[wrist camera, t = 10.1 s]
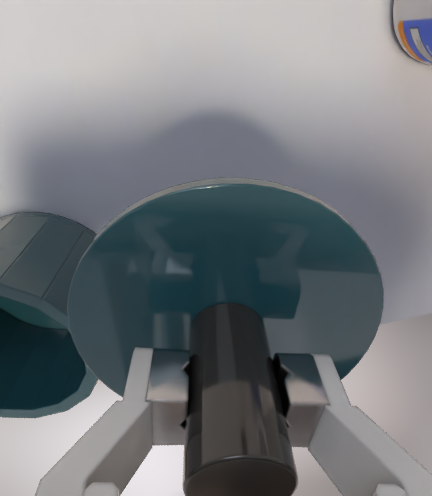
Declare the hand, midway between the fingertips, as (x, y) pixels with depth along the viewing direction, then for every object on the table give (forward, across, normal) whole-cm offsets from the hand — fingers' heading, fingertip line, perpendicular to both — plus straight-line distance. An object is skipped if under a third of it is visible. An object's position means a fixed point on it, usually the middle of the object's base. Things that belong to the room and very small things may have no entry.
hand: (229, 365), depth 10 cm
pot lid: (+2, 0, 0) cm, 2 cm away
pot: (+11, +10, +6) cm, 16 cm away
